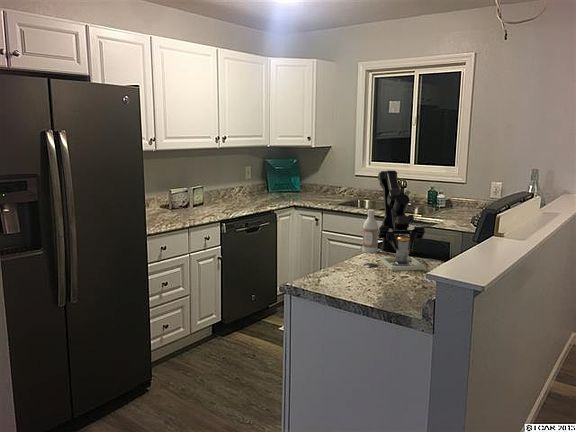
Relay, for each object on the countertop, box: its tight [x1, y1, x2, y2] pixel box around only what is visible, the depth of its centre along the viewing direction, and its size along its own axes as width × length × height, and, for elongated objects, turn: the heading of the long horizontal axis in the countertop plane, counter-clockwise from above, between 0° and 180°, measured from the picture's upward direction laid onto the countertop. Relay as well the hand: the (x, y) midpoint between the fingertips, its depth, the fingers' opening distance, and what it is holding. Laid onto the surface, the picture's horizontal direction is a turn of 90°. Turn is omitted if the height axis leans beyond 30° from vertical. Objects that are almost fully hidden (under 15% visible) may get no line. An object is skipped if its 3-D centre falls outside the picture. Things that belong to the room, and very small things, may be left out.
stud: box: [363, 262, 379, 269], centre depth 193 cm, size 6×6×1 cm
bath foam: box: [362, 209, 379, 254], centre depth 217 cm, size 7×7×20 cm
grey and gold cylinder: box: [394, 235, 410, 266], centre depth 192 cm, size 6×6×12 cm
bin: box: [380, 256, 425, 271], centre depth 193 cm, size 14×14×2 cm
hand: (403, 249), depth 191 cm, fingers open, 6 cm apart
